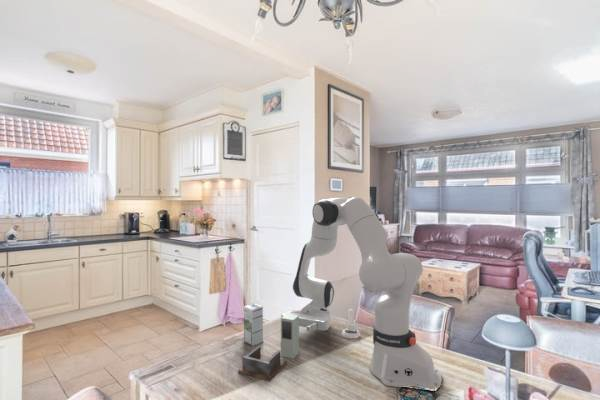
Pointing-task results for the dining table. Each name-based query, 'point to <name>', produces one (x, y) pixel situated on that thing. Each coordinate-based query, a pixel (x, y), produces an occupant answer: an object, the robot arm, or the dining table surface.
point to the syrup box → (253, 324)
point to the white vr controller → (351, 327)
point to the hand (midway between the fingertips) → (297, 327)
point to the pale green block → (290, 335)
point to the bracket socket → (261, 365)
